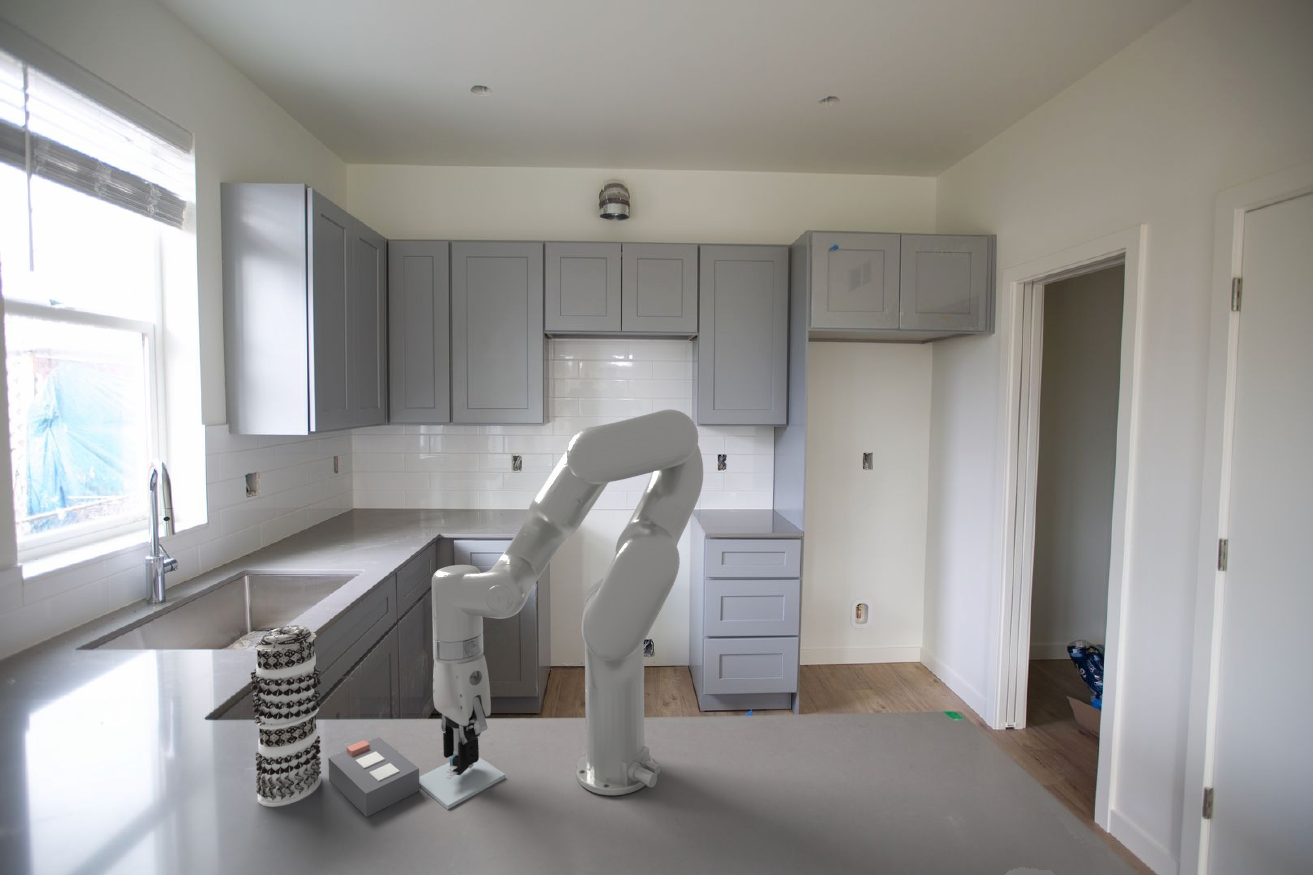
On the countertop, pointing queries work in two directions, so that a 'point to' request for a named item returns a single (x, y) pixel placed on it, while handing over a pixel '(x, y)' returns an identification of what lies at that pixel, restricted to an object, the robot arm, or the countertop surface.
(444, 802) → the pale blue mat
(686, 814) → the countertop surface
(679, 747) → the countertop surface
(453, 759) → the push button
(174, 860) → the countertop surface
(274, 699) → the decorative candle
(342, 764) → the power strip
